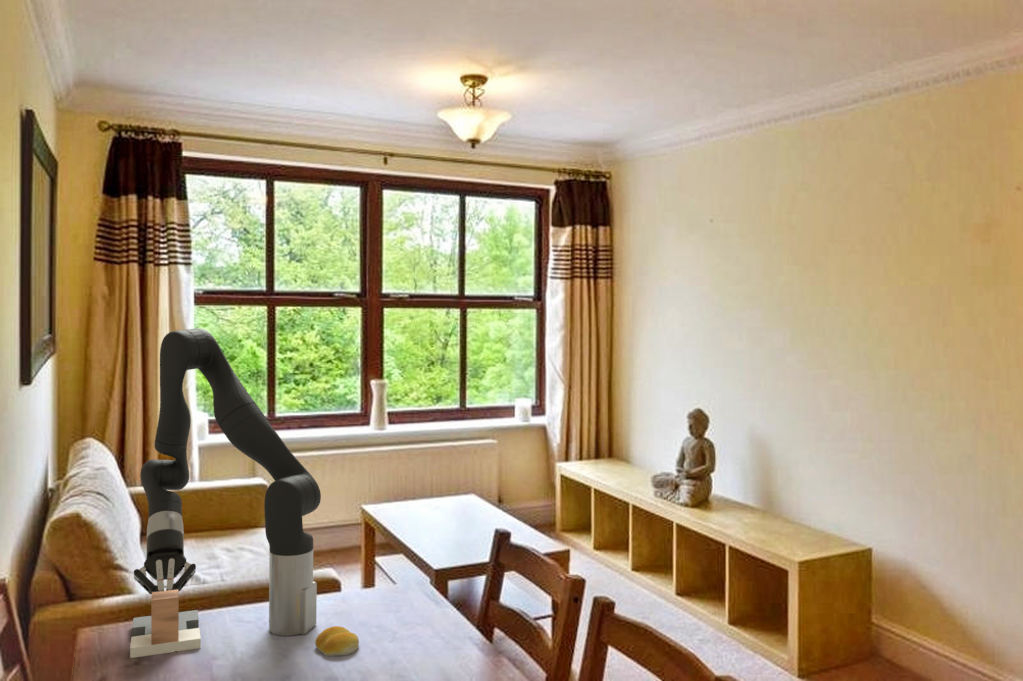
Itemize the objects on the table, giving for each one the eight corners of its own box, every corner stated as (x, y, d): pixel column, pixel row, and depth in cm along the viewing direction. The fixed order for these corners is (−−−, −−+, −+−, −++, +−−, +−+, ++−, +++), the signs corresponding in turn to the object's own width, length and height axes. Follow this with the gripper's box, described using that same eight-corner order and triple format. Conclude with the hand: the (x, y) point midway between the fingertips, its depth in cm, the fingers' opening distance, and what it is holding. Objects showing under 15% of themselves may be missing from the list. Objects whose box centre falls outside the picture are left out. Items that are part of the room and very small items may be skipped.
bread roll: (331, 661, 158) (331, 641, 158) (309, 647, 165) (310, 628, 165) (367, 650, 164) (367, 631, 163) (345, 637, 170) (345, 618, 170)
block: (151, 635, 164) (151, 592, 164) (178, 632, 166) (178, 589, 166) (151, 644, 160) (151, 600, 159) (178, 641, 161) (178, 597, 161)
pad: (131, 646, 163) (131, 636, 163) (199, 637, 169) (199, 627, 169) (130, 658, 158) (130, 648, 158) (200, 648, 163) (200, 638, 163)
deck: (133, 627, 174) (133, 617, 173) (197, 618, 179) (197, 609, 179) (131, 646, 163) (131, 636, 163) (199, 637, 169) (199, 627, 169)
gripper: (132, 530, 173) (129, 605, 162) (197, 525, 178) (199, 597, 167) (132, 548, 178) (130, 622, 167) (196, 542, 183) (198, 613, 172)
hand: (165, 609), depth 167 cm, fingers closed
